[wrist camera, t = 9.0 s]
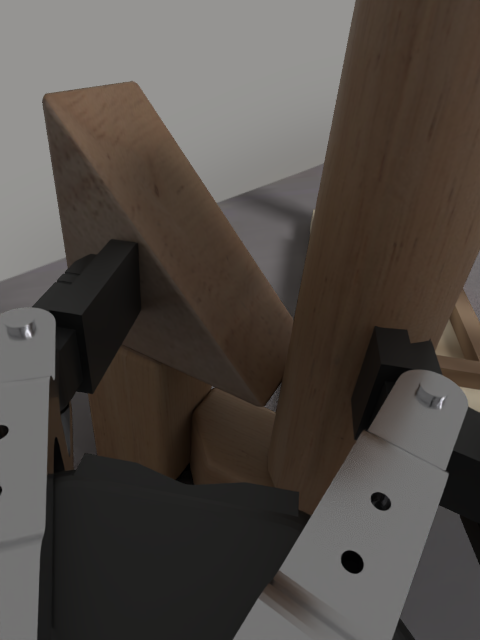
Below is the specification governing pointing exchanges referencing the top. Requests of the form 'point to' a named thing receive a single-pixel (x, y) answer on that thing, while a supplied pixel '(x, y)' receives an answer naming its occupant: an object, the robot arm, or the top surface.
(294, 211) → the top surface
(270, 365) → the wooden block
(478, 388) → the seat board
